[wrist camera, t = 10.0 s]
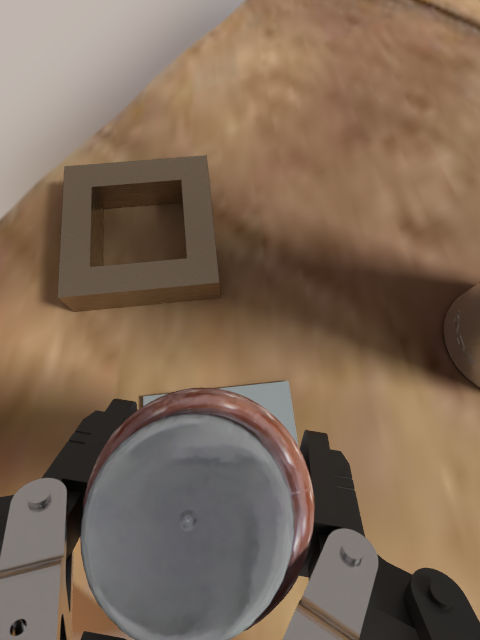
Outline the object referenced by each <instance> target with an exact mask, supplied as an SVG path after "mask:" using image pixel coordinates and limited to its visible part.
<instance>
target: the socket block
mask: <svg viewBox="0 0 480 640" xmlns="http://www.w3.org/2000/svg"><path fill="white" fill-rule="evenodd" d="M179 202H183V210H184V224H185V238H186V252H187V258H185V259H174V260H163V261H152V262H141V263H129V264H118V265H107V266H103V217H104V209H107V208H119V207H131V206H143V205H155V204H167V203H179ZM58 298H59V299H60V300H61V301H62V302H63V303H64V304H66V305H67V306H68V307H69V308H70V309H71V310H72V311H74V312H77V311H88V310H98V309H109V308H119V307H130V306H140V305H151V304H161V303H171V302H182V301H192V300H203V299H213V298H221V295H220V284H219V274H218V264H217V254H216V244H215V234H214V224H213V214H212V204H211V194H210V183H209V173H208V163H207V155H206V156H193V157H180V158H167V159H155V160H142V161H129V162H116V163H103V164H91V165H78V166H65V167H64V186H63V205H62V224H61V244H60V263H59V282H58Z"/></svg>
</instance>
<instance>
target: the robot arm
mask: <svg viewBox="0 0 480 640" xmlns="http://www.w3.org/2000/svg"><path fill="white" fill-rule="evenodd" d="M444 338H445V344H446V347H447V350H448V352H449V355H450V357H451V359H452V360H453V362H454V363H455V365H456V366H457V368H458V369H459V370H460V371H461V372H462V373H463V374H464V376H465V377H466V378H467V379H469V380H470V381H471V382H473V383H474V384H475V385H477V386H478V387H480V282H479V283H478V284H477V285H475V286H474V287H472V288H471V289H469V290H468V291H466V292H465V293H463V294H462V295H461V296H459V297H458V298H457V299H456V300H455V301H454V302H453V303H452V305H451V306H450V308H449V310H448V311H447V314H446V318H445V321H444ZM136 411H137V404H136V402H134V401H128V400H121V399H113V401H112V402H111V403H110V405H109V407H108V408H107V410H106V411H105V412H102V411H95V412H94V413H92V414H91V415H89V416H88V417H86V418H85V419H83V421H82V422H81V424H80V425H79V427H78V428H77V429H76V431H75V433H74V434H73V435H72V436H71V438H70V439H69V442H67V443H66V445H65V446H64V448H63V449H62V450H61V452H60V453H59V455H58V456H57V457H56V459H55V460H54V462H53V463H52V464H51V466H50V467H49V469H48V470H47V471H46V473H45V474H44V476H43V477H42V478H41V479H37V480H34V481H32V482H30V483H28V484H26V485H24V486H23V487H22V488H21V489H19V490H18V491H17V492H16V494H15V495H11V496H5V497H0V640H72V593H73V590H72V589H73V549H74V547H75V545H76V543H77V541H78V539H79V537H80V536H81V524H82V516H83V502H84V497H85V493H86V489H87V483H88V481H89V478H90V475H91V472H92V470H93V467H94V465H95V463H96V460H97V458H98V457H99V455H100V453H101V451H102V449H103V447H104V446H105V444H106V443H107V441H108V440H109V438H110V437H111V435H112V434H113V433H114V432H115V431H116V430H117V429H118V427H119V426H120V425H121V424H122V423H123V422H124V421H125V420H126V419H128V418H129V417H130V416H131V415H132V414H133V413H134V412H136ZM300 451H301V453H302V455H303V457H304V460H305V462H306V465H307V468H308V471H309V474H310V478H311V483H312V488H313V494H314V504H315V507H314V525H313V534H312V539H311V543H310V548H309V552H308V555H307V558H306V561H305V563H304V565H303V567H302V569H301V572H300V574H299V576H304V577H309V583H308V585H307V587H306V590H305V592H304V594H303V597H302V599H301V601H299V603H298V605H297V607H296V610H295V612H294V614H293V617H292V619H291V621H290V624H289V626H288V628H287V631H286V633H285V635H284V638H283V640H480V622H479V620H478V618H477V616H476V615H475V613H474V611H473V609H472V607H471V605H470V603H469V601H468V599H467V598H466V596H465V594H464V593H463V591H462V590H461V588H460V587H459V586H458V585H457V584H456V583H455V582H454V581H453V580H452V579H451V578H449V577H448V576H447V575H445V574H443V573H442V572H440V571H437V570H435V569H431V568H421V569H418V570H417V571H415V573H414V574H413V575H412V574H410V573H408V572H406V571H404V570H402V569H400V568H398V567H396V566H394V565H392V564H390V563H388V562H386V561H385V560H384V559H382V558H381V557H380V556H379V555H377V553H376V551H375V549H374V547H373V546H372V544H371V543H370V542H369V541H368V540H367V539H366V537H365V534H364V531H363V526H362V521H361V517H360V512H359V507H358V502H357V498H356V493H355V491H354V484H353V480H352V474H351V470H350V465H349V463H348V461H347V460H346V458H345V457H344V455H343V454H342V452H341V451H336V450H330V448H329V441H328V436H327V434H326V433H321V432H315V431H309V430H305V432H304V435H303V438H302V442H301V446H300ZM81 640H126V639H124V638H118V637H113V636H108V635H102V634H96V633H92V632H85V631H84V632H83V635H82V638H81Z"/></svg>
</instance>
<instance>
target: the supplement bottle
mask: <svg viewBox="0 0 480 640" xmlns="http://www.w3.org/2000/svg"><path fill="white" fill-rule="evenodd" d="M314 507H315V504H314V494H313V488H312V483H311V478H310V474H309V471H308V468H307V465H306V462H305V460H304V457H303V455H302V453H301V451H300V449H299V447H298V445H297V443H296V441H295V440H294V438H293V437H292V436H291V434H290V433H289V431H288V430H287V429H286V427H285V426H284V425H283V424H282V423H281V422H280V421H279V420H278V419H277V418H276V417H275V416H274V415H273V414H271V413H270V412H269V411H268V410H267V409H265V408H264V407H263V406H261V405H260V404H258V403H256V402H254V401H253V400H251V399H249V398H247V397H245V396H242V395H240V394H237V393H234V392H230V391H226V390H222V389H216V388H191V389H185V390H180V391H176V392H173V393H169V394H166V395H164V396H161V397H159V398H157V399H155V400H153V401H151V402H149V403H148V404H146V405H145V406H143V407H142V408H140V409H138V410H137V411H136V412H134V413H133V414H132V415H131V416H130V417H129V418H128V419H126V420H125V421H124V422H123V423H122V424H121V425H120V426H119V427H118V429H117V430H116V431H115V432H114V433H113V434H112V435H111V437H110V438H109V440H108V441H107V443H106V444H105V446H104V447H103V449H102V451H101V453H100V455H99V457H98V458H97V460H96V463H95V465H94V467H93V470H92V472H91V475H90V478H89V481H88V483H87V489H86V493H85V497H84V502H83V516H82V524H81V537H80V539H81V555H82V560H83V566H84V570H85V573H86V578H87V581H88V584H89V587H90V589H91V591H92V593H93V595H94V597H95V599H96V601H97V603H98V605H99V606H100V607H101V608H102V609H103V611H104V612H105V613H106V615H107V616H108V617H109V618H110V620H111V621H113V622H114V623H115V624H116V625H117V626H118V627H119V629H120V630H121V631H123V632H124V633H125V634H127V635H128V636H129V637H131V638H133V639H135V640H229V639H231V638H234V637H235V636H237V635H238V634H240V633H241V632H242V631H245V630H248V629H249V628H251V627H252V626H253V625H255V624H256V623H258V622H259V621H261V620H262V619H263V618H264V617H265V616H267V615H268V614H269V613H270V612H271V611H272V610H273V609H274V608H275V607H276V606H277V605H278V604H279V603H280V602H281V601H282V600H283V599H284V597H285V596H286V595H287V594H288V592H289V591H290V590H291V588H292V587H293V585H294V583H295V582H296V580H297V578H298V576H299V574H300V572H301V569H302V567H303V565H304V563H305V561H306V558H307V555H308V552H309V548H310V543H311V539H312V534H313V525H314Z"/></svg>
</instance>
